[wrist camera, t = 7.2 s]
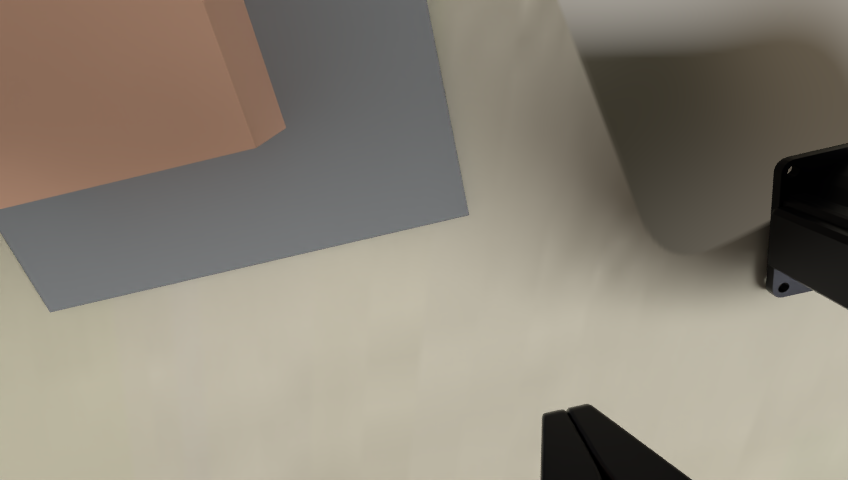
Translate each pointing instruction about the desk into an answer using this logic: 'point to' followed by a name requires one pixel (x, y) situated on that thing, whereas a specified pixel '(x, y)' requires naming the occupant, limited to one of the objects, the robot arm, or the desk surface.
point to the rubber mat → (271, 165)
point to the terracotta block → (125, 91)
